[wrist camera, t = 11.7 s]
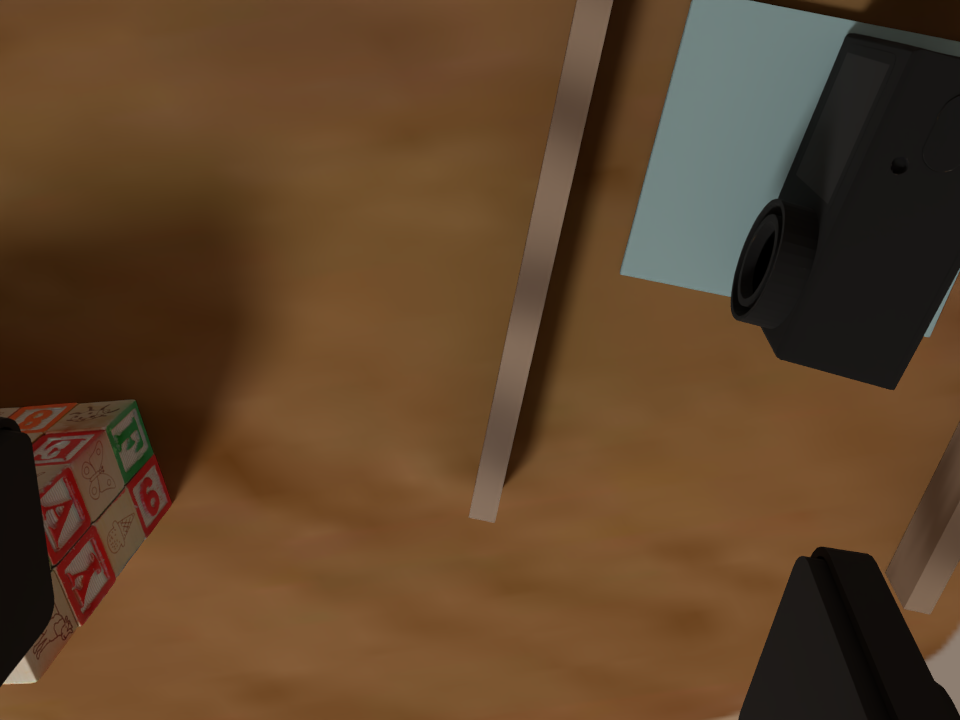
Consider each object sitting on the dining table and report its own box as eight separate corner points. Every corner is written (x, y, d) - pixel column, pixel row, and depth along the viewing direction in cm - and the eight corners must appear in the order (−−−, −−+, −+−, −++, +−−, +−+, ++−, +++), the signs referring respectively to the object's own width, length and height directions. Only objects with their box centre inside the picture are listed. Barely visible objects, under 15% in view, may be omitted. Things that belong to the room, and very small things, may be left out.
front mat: (694, -11, 30) (695, -10, 30) (1049, 59, 30) (1054, 60, 30) (619, 271, 35) (620, 274, 35) (926, 334, 35) (929, 337, 35)
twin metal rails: (589, -63, 30) (591, -66, 28) (1178, 52, 30) (1227, 59, 27) (474, 486, 40) (468, 517, 38) (910, 578, 40) (930, 614, 38)
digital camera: (816, 18, 30) (879, 31, 24) (960, 59, 30) (1062, 82, 24) (711, 281, 35) (740, 350, 28) (837, 316, 35) (895, 393, 28)
